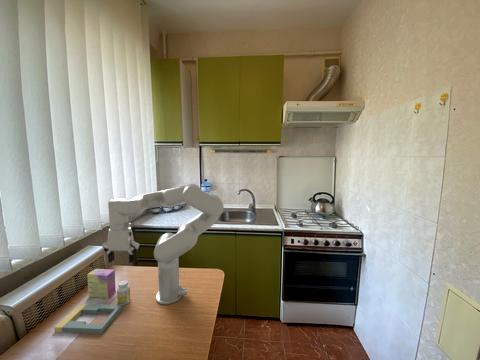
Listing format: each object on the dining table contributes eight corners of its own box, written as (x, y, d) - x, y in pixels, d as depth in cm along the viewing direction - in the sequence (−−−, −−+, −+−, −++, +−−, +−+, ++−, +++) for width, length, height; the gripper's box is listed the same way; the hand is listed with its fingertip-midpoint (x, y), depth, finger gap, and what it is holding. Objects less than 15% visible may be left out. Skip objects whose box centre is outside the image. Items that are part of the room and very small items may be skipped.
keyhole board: (121, 309, 94) (121, 305, 94) (101, 333, 81) (101, 328, 81) (81, 308, 95) (80, 303, 94) (54, 331, 82) (54, 327, 81)
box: (116, 291, 107) (115, 269, 105) (108, 298, 101) (106, 275, 100) (97, 289, 108) (96, 268, 106) (88, 297, 102) (86, 274, 101)
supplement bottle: (123, 306, 95) (121, 287, 94) (114, 303, 97) (113, 284, 96) (133, 299, 100) (132, 280, 99) (125, 296, 102) (123, 278, 101)
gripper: (142, 223, 98) (144, 257, 100) (106, 223, 99) (109, 257, 101) (133, 228, 91) (135, 266, 93) (95, 228, 91) (97, 265, 93)
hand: (121, 261), depth 97 cm, fingers open, 9 cm apart
